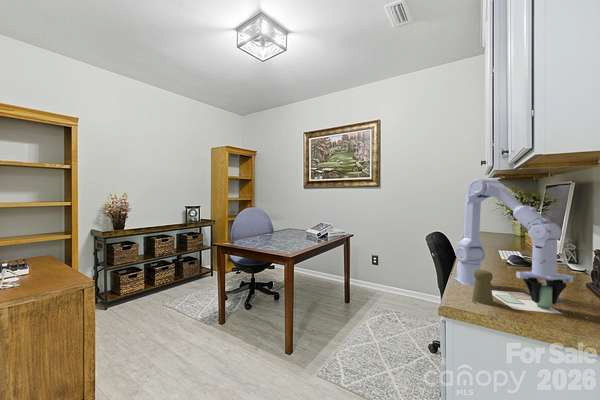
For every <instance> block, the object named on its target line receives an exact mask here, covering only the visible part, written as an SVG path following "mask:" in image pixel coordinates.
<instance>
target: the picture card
mask: <svg viewBox="0 0 600 400" xmlns="http://www.w3.org/2000/svg"><path fill="white" fill-rule="evenodd" d="M492 296H493V297H495V298H496V299H498V300H499V301H500V302H502V303H504V304H505V305H507V306H509V308H511V309H513V310H519V311H528V312H537V313H538V312H539V313H551V314H560V315H561V314H562V315H563V313H562V312H560V311H559V310H557V309H555V308H553V307H550V309H542V308H539V307H537V304H536V303H535V302H534V301H532V298H531V295H529V294H527V293H526V292H519V291H509V290H508V291H505V290H494V289H493V290H492Z"/></svg>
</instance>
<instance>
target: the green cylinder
mask: <svg viewBox="0 0 600 400" xmlns="http://www.w3.org/2000/svg"><path fill="white" fill-rule="evenodd" d="M552 289H553V287H552V286H549V285H547V284H546V283H542V286H541V289H540V293H539V303H536V302H535V303H536V304H537V307H539V308H542V309H550V307H551V308H553V304H552Z"/></svg>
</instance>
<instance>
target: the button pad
mask: <svg viewBox="0 0 600 400" xmlns="http://www.w3.org/2000/svg"><path fill="white" fill-rule="evenodd" d="M525 294H527V295H529V296H531V295H530V292H529V289H525ZM556 302H561V303H563V302H564V298H562V297H560V296H559V297H558V299H557V301H556Z"/></svg>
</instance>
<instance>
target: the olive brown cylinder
mask: <svg viewBox="0 0 600 400" xmlns="http://www.w3.org/2000/svg"><path fill="white" fill-rule="evenodd" d="M474 277H475V279H476V280H475V285H473V286H474V287H473V292H472V298H471V299H472V300H471V302H472V303H473V304H475V305H478V304H482V305H491V306H492V305H494V296H493V295H492V283H491V282H492V280H493V274H492V272H491V271H489V270H485V269H480V270H476V271H475V272H474Z"/></svg>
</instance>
